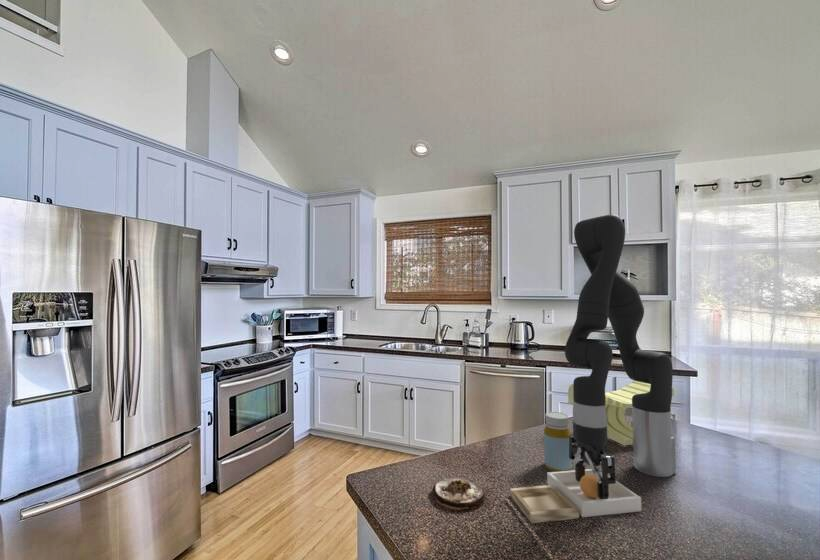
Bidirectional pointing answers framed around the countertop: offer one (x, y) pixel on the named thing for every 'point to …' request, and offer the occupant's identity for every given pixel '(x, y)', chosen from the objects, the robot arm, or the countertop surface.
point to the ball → (589, 485)
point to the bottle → (557, 442)
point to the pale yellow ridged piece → (619, 410)
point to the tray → (543, 503)
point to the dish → (587, 506)
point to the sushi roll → (459, 494)
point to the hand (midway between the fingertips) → (591, 489)
